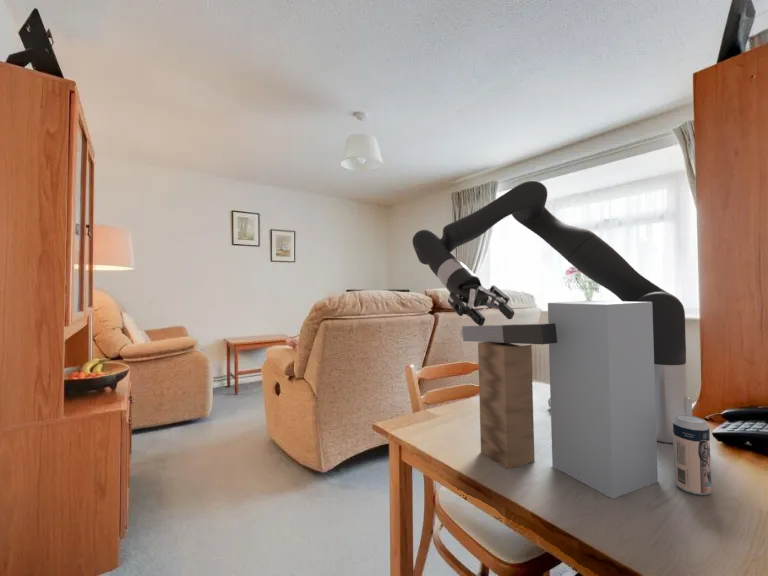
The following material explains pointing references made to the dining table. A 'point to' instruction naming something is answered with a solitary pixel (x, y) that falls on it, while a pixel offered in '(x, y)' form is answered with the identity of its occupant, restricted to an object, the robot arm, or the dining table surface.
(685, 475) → the cream and blue canister
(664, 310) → the robot arm
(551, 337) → the dark grey long bar
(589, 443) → the tall stand
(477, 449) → the dining table surface
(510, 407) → the walnut block
